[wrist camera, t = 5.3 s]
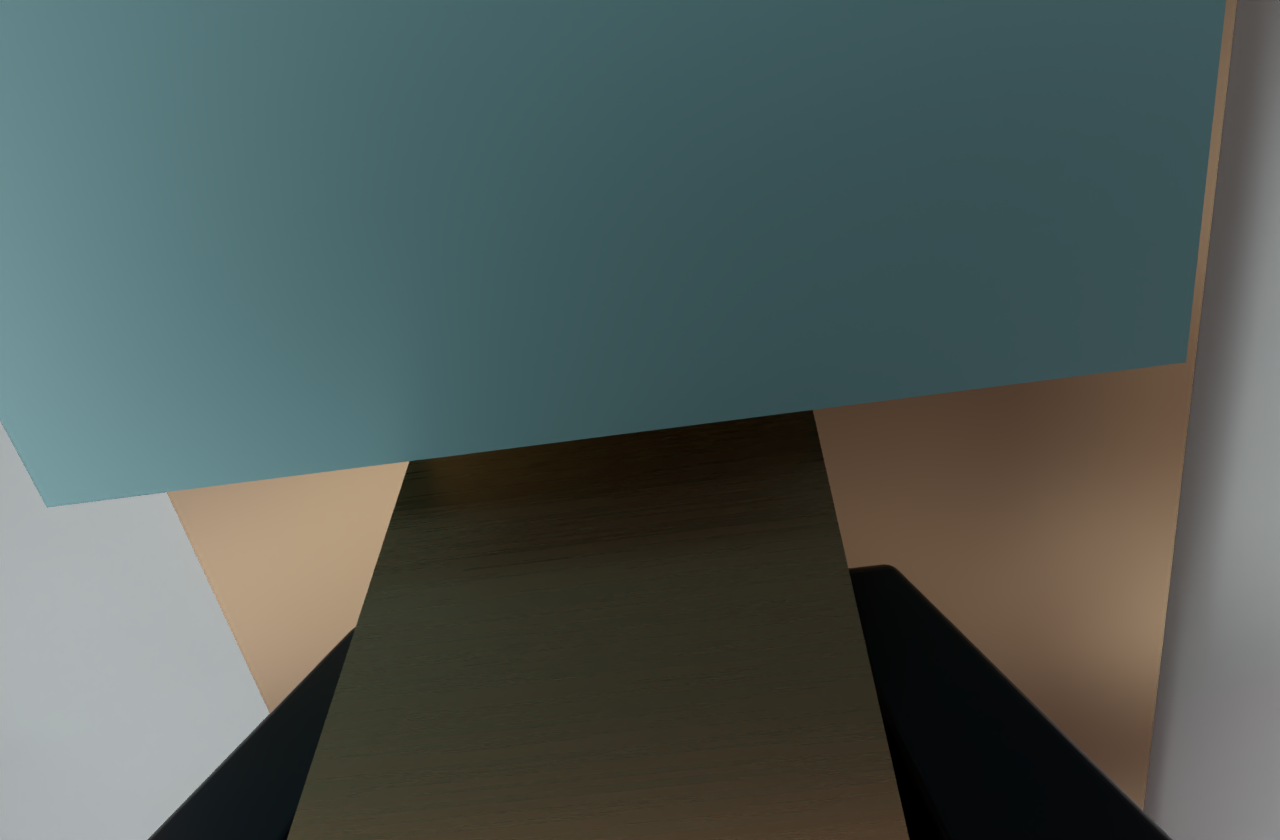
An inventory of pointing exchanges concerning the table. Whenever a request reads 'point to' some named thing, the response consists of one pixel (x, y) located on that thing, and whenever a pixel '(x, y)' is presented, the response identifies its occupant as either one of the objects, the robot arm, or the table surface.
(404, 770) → the l-shaped wooden step
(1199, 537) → the table surface
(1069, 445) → the base board
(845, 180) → the socket block
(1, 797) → the table surface
